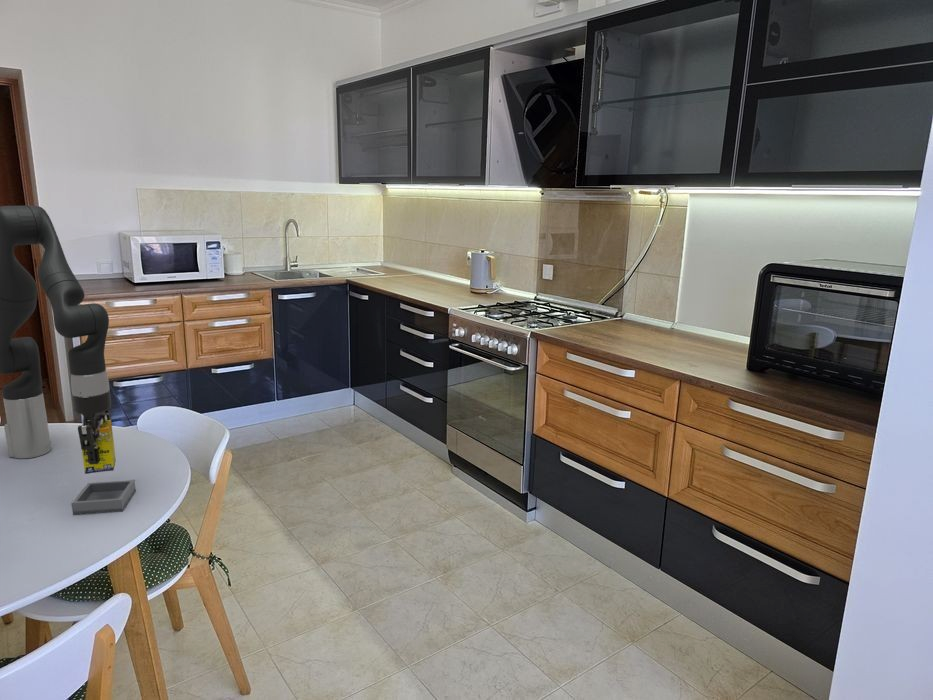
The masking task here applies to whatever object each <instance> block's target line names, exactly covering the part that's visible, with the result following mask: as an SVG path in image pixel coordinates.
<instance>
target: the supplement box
mask: <svg viewBox="0 0 933 700" xmlns="http://www.w3.org/2000/svg"><path fill="white" fill-rule="evenodd" d="M92 432H93V435H96V434H97V429H96V430H94V431H92ZM89 444H90V441H89ZM98 450H99V458H100V462H99V463H98V464H89V463H88V455H87V450H82V449H81V453H82V461H83V462H82V463H83V468H84V474H85V475H89V474H95V473H101V472H103V473H104V472H111V471H112V472H113V471H114V469H115V465H116V450H115V442H114V434H113V425H112V419H111V420H107V421H106V423H103V426H102V427H101V428H100V438H99V439H98Z"/></svg>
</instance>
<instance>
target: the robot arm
mask: <svg viewBox="0 0 933 700" xmlns="http://www.w3.org/2000/svg"><path fill="white" fill-rule="evenodd" d="M39 244H40V245H41V247H43V250H44V251H43V254H42V255H43V256H42V258H41V260H40V264H39V266H38V270H37V277H38V282H39V284H40V286H41V288H42V289H43V292H44V293H45V295H46V297H47V298H48V301H49V303H50V306H51V310H52V315H53V325H54V328H55V330H56V332H57V333H58V334H59V335H60V336H62V337H64V338H67V339H74V338H78V337H79V338H81V337H86V336H87V338H86V340H85V341H84V342H83V343H80V344H78V345H77V346H73V347H72V348H70V349H69V350H68V353H67V354H68V363H69V370H70V387H71V394H72V395H71V396H72V401H73V408H74V409H73V410H74V412H75V413H76V414H79V415H82V416H83V419H82V425H78V426H77V431H78V437H79V442H80V450H81V451H82V450H87V455H88V463H89V464H98V463H99V462H100V458H99V450H98V439H99V438H100V428H101V427H102V426H103V423H106V421H107V420H111V421H112V417H111V416H112V415H111V408H112V398H111V397H112V395H111V391H110V389H111V388H110V381H109V376H108V373H107V369H106V368H107V367H106V358H105V347H106V340H107V335H108V331H109V325H110V317H109V314H108V312H107V310H106V308H105V307H104V306H103V305H101V304H99V303H96V302H95V303H84V304H81V303H82V302H83V300H85V299H84V298H85V291H84V289H83V287H82V286H81V284H80V282H79V281H78V279H77V278H76V276H75V274H74V273H73V271H72V269H71V267H70V265H69V263H68V261H67V258H66V256H65V253H64V249H63V248H62V245H61V243H60V238H59V237H58V233H57V231H56V229H55V226H54V224H53V221H52V220H51V217H50V215H49V213H47V211H46V210H45V208H43V207H41V206H40V205H39V206H38V205H2V206H0V375H10V374H14V373H15V374H16V373H18V372H22V373H21V374H20V376H18V377H17V378H16V379H14V380H13V381H10V382H8V383H7V384H5V385H4V386H3V387H2V388H1V394H2V395H1V396H2V399H3V406H4V410H5V411H4V412H5V418H6V419H5V420H6V423H4V425H3V427H4V434H5V440H6V446H7V452H8V457H9V458H15V459H31V458H37V457H40V456H43V455H45V454H48V453H49V452H51V450H52V445H51V443H52V442H51V439H50V438H51V437H50V431H49V429H50V428H49V424H48V417H47V411H46V410H47V409H46V406H45V404H46V403H45V398H44V393H43V392H44V391H43V378H42V372H41V371H42V370H41V358H40V351H39V346H38V344H37V342H36V341H35V339H34V338H33V337H31V336H24V337H23V336H22V337H15V338H13V336H14V335H15V334H16V332H17V330H19V329H20V328H21V326H23V325H24V324H25V323H26V322H27V321H28V320H29V318H30V317H31V316H32V315H33V314H34V312H35V310H36V307H37V301H38V284H37V282H36V280H35V279H34V277H33V275H31V273H30V272H29V271H28V270H27V269H26V268H25V267H24V266H23V265H22V264H21V262H20V261H19V260H18V259H17V257H16V256H15V247H17V246H28V245H39ZM96 429H97V434H96V435H93V432H92V431H94V430H96ZM89 441H90V444H89Z"/></svg>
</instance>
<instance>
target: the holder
mask: <svg viewBox="0 0 933 700" xmlns="http://www.w3.org/2000/svg"><path fill="white" fill-rule="evenodd" d="M136 491H137V489H136V482H135V479H130V480H113V481H99V482H98V481H97V482H87V484H85V486H84V488H82V489H81V491H80V492H79V493H78V494H77V496H76V497H75V498H74V500H73V501H72V502H71V511H72V515H73V516H77V515H78V516H80V515H91V514H92V515H93V514H105V513H107V514H108V513H118V512H124V511H125V508H126V507H127V506H128V503H130V501H131V499H132V498H133V496H134V495H135V493H136Z"/></svg>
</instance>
